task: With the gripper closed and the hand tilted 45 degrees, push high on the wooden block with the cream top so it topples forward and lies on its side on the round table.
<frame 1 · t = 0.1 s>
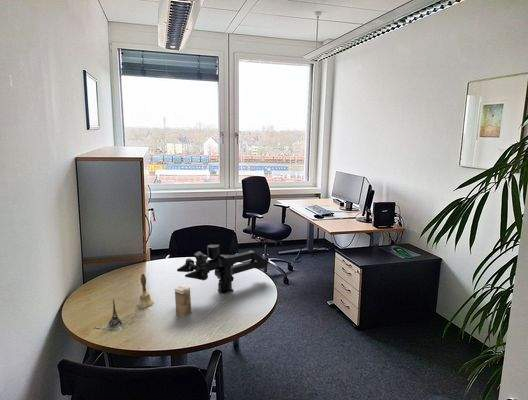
hand: (181, 273, 176), 17 cm above the table, tool horizontal, fingers open, 9 cm apart
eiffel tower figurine: (114, 325, 161), on the table
hand bell: (145, 304, 180), on the table
wooden block: (183, 313, 170), on the table
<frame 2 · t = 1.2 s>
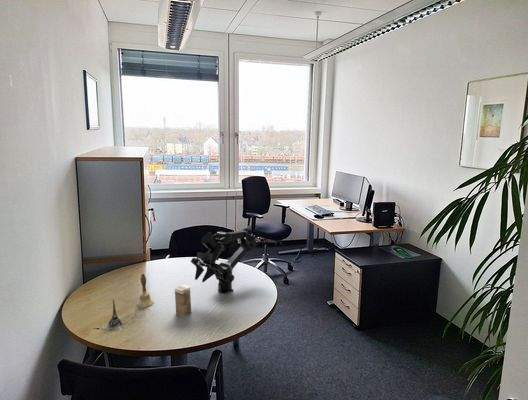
hand: (199, 280, 177), 13 cm above the table, tool tilted 45°, fingers open, 5 cm apart
nothing on the table moved.
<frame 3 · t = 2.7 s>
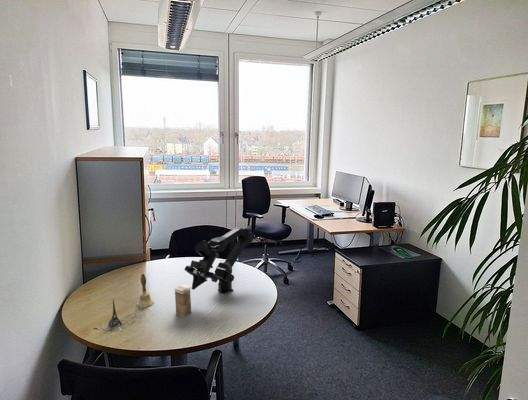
hand: (192, 289, 174), 10 cm above the table, tool tilted 45°, fingers closed
nothing on the table moved.
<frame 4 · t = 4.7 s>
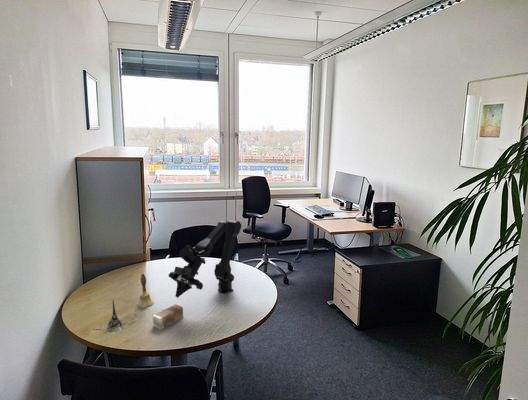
hand: (176, 296, 165), 10 cm above the table, tool tilted 45°, fingers closed
wooden block: (179, 310, 168), point 2 cm above the table, tilted 90°
everything else where it was.
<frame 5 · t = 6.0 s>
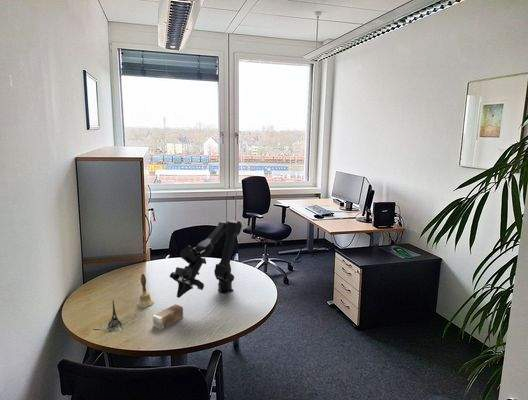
hand: (177, 297, 166), 9 cm above the table, tool tilted 45°, fingers closed
nothing on the table moved.
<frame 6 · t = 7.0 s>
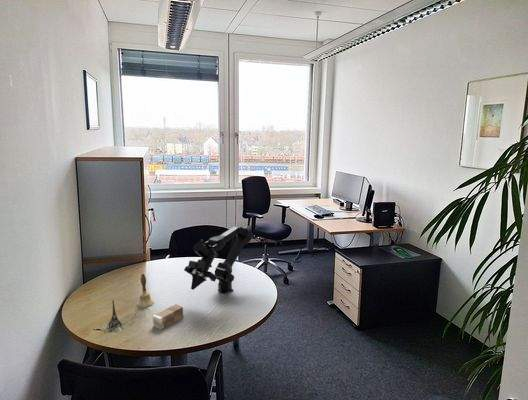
hand: (192, 289, 174), 10 cm above the table, tool tilted 45°, fingers closed
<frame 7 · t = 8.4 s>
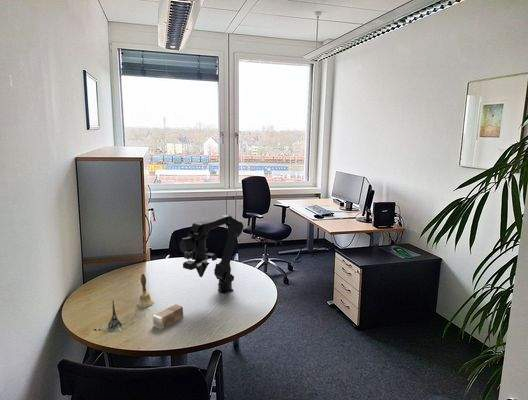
hand: (201, 277, 180), 13 cm above the table, tool pointing down, fingers closed
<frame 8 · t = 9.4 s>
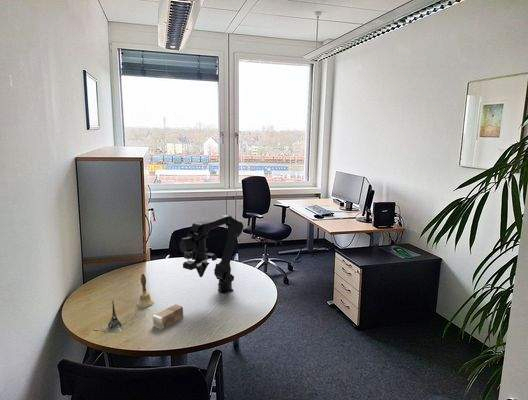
hand: (201, 277, 180), 13 cm above the table, tool pointing down, fingers closed
at the end: wooden block tilted 90°; wooden block inside the target area (2.9 cm from its centre), point 2.4 cm above the table; wooden block touching table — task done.
